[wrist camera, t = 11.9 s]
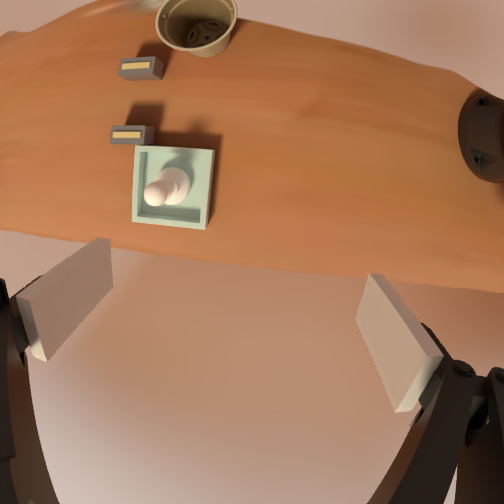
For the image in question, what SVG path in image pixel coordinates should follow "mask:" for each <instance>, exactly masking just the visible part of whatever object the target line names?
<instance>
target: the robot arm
mask: <svg viewBox="0 0 504 504" xmlns="http://www.w3.org/2000/svg"><path fill="white" fill-rule="evenodd" d="M458 136H459V144H460V148H461V152H462V155H463V157H464V160H465V162H466V164H467V165H468V167H469V169H470V170H471V171H472V172H473V173H474V174H475V175H476V176H477V177H478V178H480V179H482V180H484V181H488V182H491V183H502V182H504V100H503V99H500V98H498V97H495V96H492V95H478V96H474V97H472V98H470V99H469V100H468V101H467V102H466V103H465V105H464V106H463V108H462V111H461V114H460V117H459V124H458ZM112 288H113V278H112V263H111V242H110V239H106V238H96V239H95V240H93V241H92V242H90V243H89V244H87V245H86V246H84V247H83V248H81V249H80V250H78V251H77V252H75V253H74V254H72V255H71V256H70V257H68V258H67V259H65V260H64V261H62V262H61V263H60V264H58V265H57V266H55V267H54V268H52V269H51V270H50V271H48V272H47V273H45V274H44V275H42V276H39V277H37V278H36V279H35V280H33V281H32V282H31V283H29V284H28V285H26V287H24V288H22V289H21V290H20V291H19V292H17V293H16V294H15V295H14V296H12V297H11V298H9V297H8V293H7V288H6V284H5V280H3V279H2V278H0V504H60V503H59V502H58V499H57V497H56V494H55V491H54V488H53V485H52V482H51V479H50V476H49V473H48V470H47V466H46V463H45V459H44V456H43V452H42V448H41V443H40V440H39V435H38V431H37V426H36V420H35V415H34V410H33V404H32V397H31V390H30V382H29V373H28V362H27V356H26V353H25V349H26V348H27V347H28V346H29V345H30V348H31V351H32V354H33V356H34V357H36V358H38V359H41V360H43V361H46V362H48V361H49V360H50V358H51V357H52V356H53V354H54V353H55V352H56V351H57V350H58V349H59V347H60V346H61V345H62V344H63V343H64V341H65V340H66V339H67V338H68V337H69V336H70V335H71V333H72V332H73V331H74V330H75V329H76V328H77V327H78V325H79V324H80V323H81V322H82V321H83V320H84V319H85V318H86V316H87V315H88V314H89V313H90V312H91V311H92V310H93V309H94V307H95V306H96V305H97V304H98V303H99V302H100V301H101V300H102V299H103V298H104V297H105V296H106V294H107V293H108V292H109V291H110V290H111V289H112ZM355 321H356V323H357V325H358V328H359V329H360V332H361V334H362V336H363V338H364V341H365V343H366V345H367V347H368V350H369V352H370V354H371V357H372V359H373V361H374V363H375V366H376V368H377V370H378V373H379V375H380V378H381V380H382V382H383V385H384V387H385V390H386V392H387V394H388V397H389V399H390V402H391V404H392V407H393V409H394V412H406V411H411V410H412V409H413V407H414V406H415V404H416V403H417V401H418V400H419V402H420V404H421V406H422V407H421V409H420V410H419V412H418V413H417V415H416V416H415V418H414V419H413V421H412V422H411V424H410V425H409V426H410V427H411V428H410V431H409V433H408V435H407V437H406V439H405V441H404V443H403V444H402V447H401V449H400V450H399V452H398V454H397V456H396V458H395V460H394V461H393V463H392V465H391V466H390V468H389V470H388V472H387V474H386V475H385V477H384V478H383V480H382V482H381V483H380V485H379V486H378V488H377V490H376V491H375V493H374V494H373V496H372V497H371V499H370V500H369V502H368V503H367V504H443V503H444V501H445V498H446V496H447V493H448V490H449V487H450V485H451V482H452V479H453V476H454V473H455V470H456V467H457V481H456V493H455V501H454V504H504V369H502V368H500V367H494V368H492V369H491V371H490V372H489V374H488V376H487V377H483V376H477V375H476V373H475V371H474V369H473V368H472V367H471V366H470V365H469V364H467V363H465V362H463V361H460V360H453V359H452V358H451V356H450V355H449V353H448V352H447V351H446V349H445V348H444V346H443V345H442V344H441V343H440V341H439V340H438V338H436V336H435V334H434V333H433V332H432V330H431V329H430V328H428V327H427V326H426V325H424V324H423V323H420V322H419V321H418V319H417V318H416V317H415V315H414V314H413V313H412V311H411V310H410V309H409V307H408V306H407V305H406V304H405V302H404V301H403V300H402V298H401V297H400V296H399V295H398V294H397V292H396V291H395V290H394V288H393V287H392V286H391V285H390V283H389V282H388V281H387V280H386V278H385V277H384V276H383V275H381V274H373V273H369V276H368V279H367V283H366V286H365V290H364V293H363V297H362V299H361V303H360V306H359V309H358V312H357V315H356V318H355ZM488 421H489V422H488ZM487 422H488V424H487ZM457 464H458V465H457Z"/></svg>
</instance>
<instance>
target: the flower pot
mask: <svg viewBox="0 0 504 504" xmlns="http://www.w3.org/2000/svg"><path fill="white" fill-rule="evenodd" d="M236 19H237V7H236V4H235V2H234V0H166V1H165V2H164V3H163V5H162V6H161V7H160V9H159V11H158V13H157V17H156V22H155V27H156V31H157V33H158V36H159V37H160V39H161V40H162V41H163V42H164V43H165V44H167V45H168V46H170V47H172V48H174V49H177V50H182V51H188V52H190V53H192V54H193V55H195V56H198V57H212V56H214V55H217V54H219V53H220V52H222V51H223V50H224V49H225V48H226V47H227V45H228V43H229V41H230V31H231V30H232V29H233V27H234V25H235V23H236ZM209 23H216V24H217V26H216V25H209ZM193 32H194V34H193V37H192V38H191V39H190V36H191V34H192V33H193ZM207 36H208V37H209V38H207V39H206V37H207Z"/></svg>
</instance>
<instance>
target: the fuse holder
mask: <svg viewBox="0 0 504 504" xmlns="http://www.w3.org/2000/svg"><path fill="white" fill-rule="evenodd" d="M163 69H164V63H163V62H162V61H161V60H159V59H158V58H157V57H156V56H153V57H137V58H125V59H121V62H120V68H119V74H118V76H120V77H122V78H125V79H127V80H129V81H134V80H162V76H163ZM155 129H156V127H153V126H143V125H123V126H112V127H111V139H110V144H139V145H148V144H154V139H155Z"/></svg>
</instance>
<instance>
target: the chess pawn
mask: <svg viewBox="0 0 504 504" xmlns="http://www.w3.org/2000/svg"><path fill="white" fill-rule="evenodd" d="M190 188H191V183H190V179H189V177H188V175H187V174H186V172H185V171H183V170H182V169H180V168H177V167H170V168H166V169H164V170H162V171H160V172H159V173H158V174H157V175H156V177H155V179H154V182H152V183H150V184H148V185H147V186H146V188H145V190H144V199H145V201H146V202H147V203H148V204H149V205H151V206H160V205H162V204H163V203H165V204H169V205H173V204H177V203H179V202H181V201H182V200H184V199H185V198H186V197H187V195H188V194H189V192H190Z"/></svg>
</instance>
